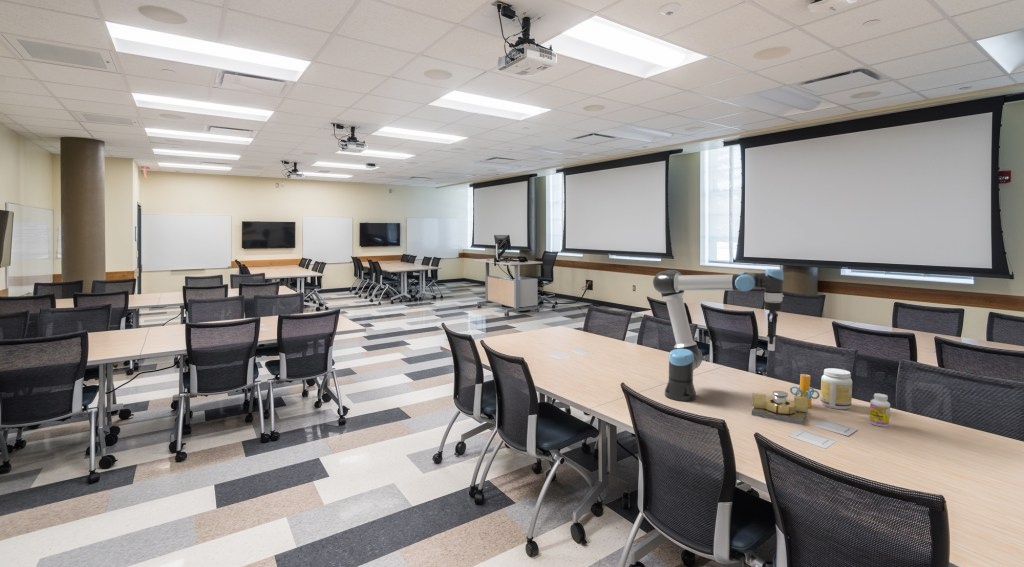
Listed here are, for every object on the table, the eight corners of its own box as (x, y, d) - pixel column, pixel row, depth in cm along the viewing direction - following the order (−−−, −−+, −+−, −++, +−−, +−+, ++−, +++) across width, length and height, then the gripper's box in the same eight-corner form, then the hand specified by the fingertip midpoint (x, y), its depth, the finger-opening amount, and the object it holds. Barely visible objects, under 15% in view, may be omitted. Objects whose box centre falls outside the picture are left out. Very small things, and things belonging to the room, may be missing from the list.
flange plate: (751, 414, 211) (752, 394, 211) (758, 403, 226) (759, 383, 225) (803, 425, 199) (804, 403, 199) (807, 412, 214) (808, 391, 213)
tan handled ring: (756, 411, 210) (756, 398, 209) (750, 401, 221) (750, 389, 221) (811, 415, 203) (812, 402, 203) (802, 406, 215) (803, 393, 215)
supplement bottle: (865, 422, 202) (867, 393, 200) (874, 420, 204) (876, 391, 203) (882, 428, 195) (884, 398, 194) (892, 425, 198) (894, 396, 197)
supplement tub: (852, 405, 222) (855, 370, 221) (848, 412, 214) (851, 376, 212) (822, 399, 231) (824, 366, 229) (817, 406, 222) (819, 371, 220)
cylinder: (821, 411, 215) (823, 379, 214) (796, 409, 217) (798, 378, 216) (810, 402, 227) (812, 372, 226) (787, 400, 229) (788, 371, 228)
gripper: (780, 303, 214) (778, 354, 216) (784, 300, 224) (782, 348, 226) (762, 302, 218) (759, 351, 220) (766, 299, 228) (764, 346, 231)
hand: (771, 350), depth 223 cm, fingers closed
